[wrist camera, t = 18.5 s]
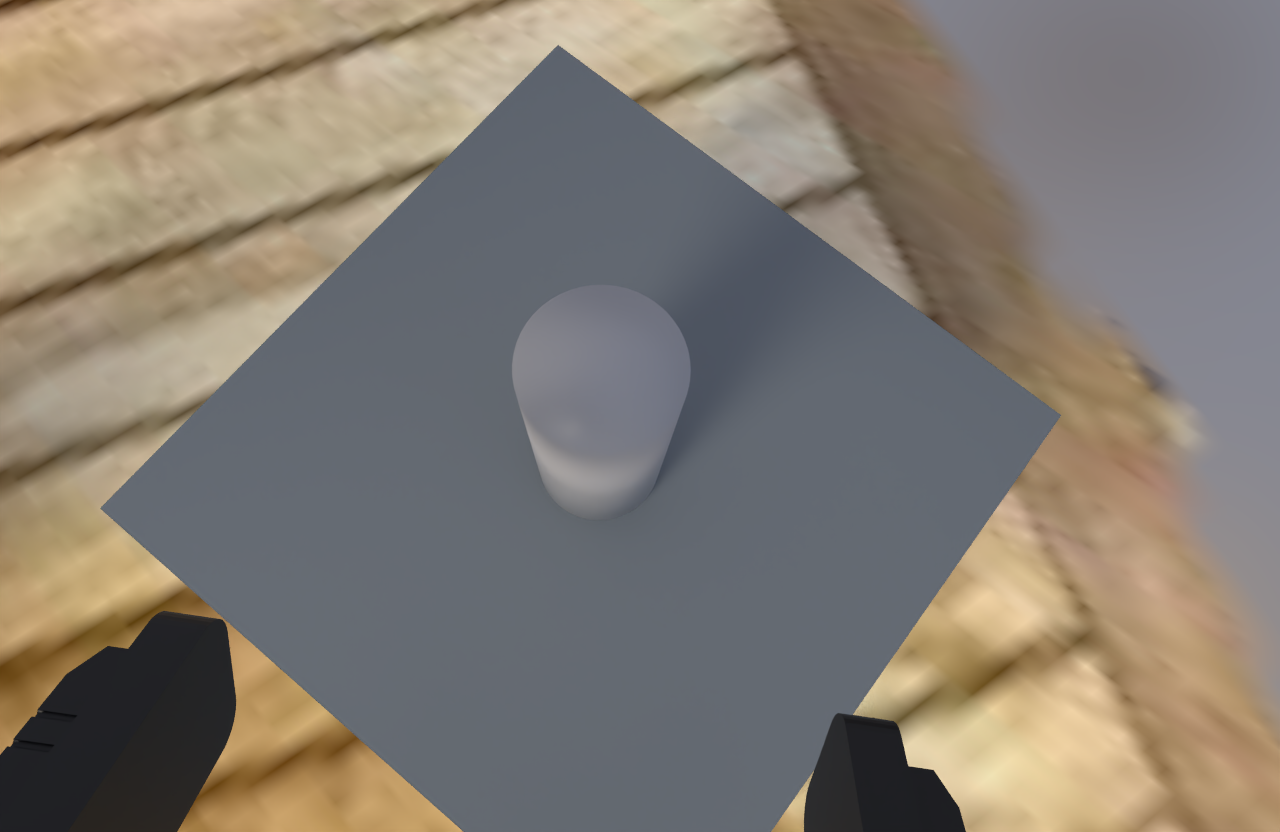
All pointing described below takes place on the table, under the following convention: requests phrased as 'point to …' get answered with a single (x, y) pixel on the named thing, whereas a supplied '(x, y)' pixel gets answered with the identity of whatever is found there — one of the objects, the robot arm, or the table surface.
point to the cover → (588, 480)
